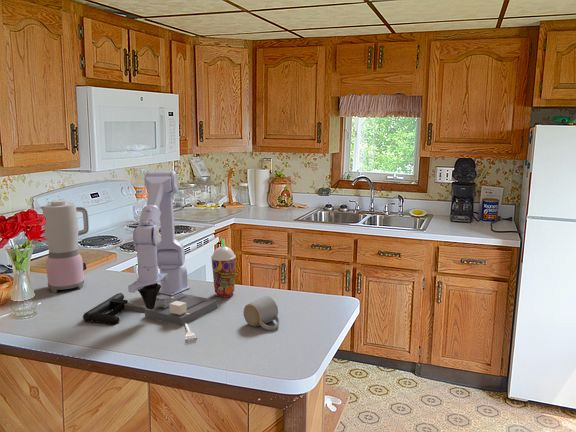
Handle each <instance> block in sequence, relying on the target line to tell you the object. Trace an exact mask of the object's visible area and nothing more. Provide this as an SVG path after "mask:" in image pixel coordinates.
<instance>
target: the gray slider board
mask: <svg viewBox="0 0 576 432" xmlns="http://www.w3.org/2000/svg"><path fill="white" fill-rule="evenodd" d="M174 301H180V302H185V303H186V307H187V312H185V313H183V314H181V315H178V314H174V313H170V306H168V307H166V308H162V307H158V306H155V307H154V309H145V312H144V318H147V319H151V320H154V321H155V320H156V321H161V322H165V323H166V324H167V323H168V324H171V325H177V326H180V327H183V325H184V326H185V323H187V324H189V323H191V322H193V321H195V320H197V319H199V318H200V316H201V317H203V316H204V314H205V315H207V314H208V313H210V312H212V311H214V310H216V309H218V300H216V299H211V298H206V297H203V296H202V297H201V296H196V295H192V294H187V293H182V292H180V293H177V294H175V295H173V296H172V297H171V303H172V302H174ZM202 315H203V316H202ZM198 317H199V318H198Z"/></svg>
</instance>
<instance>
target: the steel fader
mask: <svg viewBox="0 0 576 432" xmlns="http://www.w3.org/2000/svg"><path fill="white" fill-rule="evenodd" d="M171 296H172V295H167V294H158V295H157V298H156V302H155V306H158V307H162V308H166V307H168V306H170V305H169V304H170V303H171Z"/></svg>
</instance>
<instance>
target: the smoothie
mask: <svg viewBox="0 0 576 432" xmlns="http://www.w3.org/2000/svg"><path fill="white" fill-rule="evenodd" d="M210 257H211V258H210V259H211V267H212V275H213V276H212V277H213V278H212V279H213V287H214V293H215V294H216V296H217V297H220V298H228V297H231V296H233V295H234V292H235V286H236V285H235V282H236V280H235V279H236V278H235V277H236V257H237V255H236V254H235V252H234V251H233V250H232V249H231V248H230V247H228V246H226V245H225V239H224V238H221V246H219V247H217V248H216V249H215V250H214V251H213V253H212V255H211V256H210Z"/></svg>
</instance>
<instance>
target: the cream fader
mask: <svg viewBox="0 0 576 432" xmlns="http://www.w3.org/2000/svg"><path fill="white" fill-rule="evenodd" d="M169 305H170V313H174V314H178V315H181V314H183V313H185V312H187V307H186V303H185V302H180V301H174V302H172V303H170V304H169Z"/></svg>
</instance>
